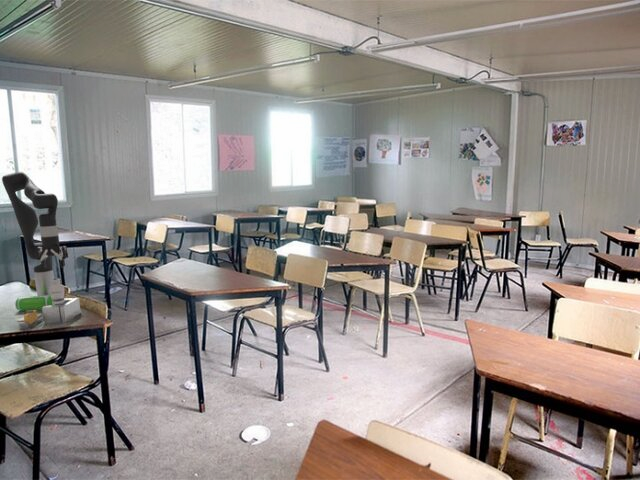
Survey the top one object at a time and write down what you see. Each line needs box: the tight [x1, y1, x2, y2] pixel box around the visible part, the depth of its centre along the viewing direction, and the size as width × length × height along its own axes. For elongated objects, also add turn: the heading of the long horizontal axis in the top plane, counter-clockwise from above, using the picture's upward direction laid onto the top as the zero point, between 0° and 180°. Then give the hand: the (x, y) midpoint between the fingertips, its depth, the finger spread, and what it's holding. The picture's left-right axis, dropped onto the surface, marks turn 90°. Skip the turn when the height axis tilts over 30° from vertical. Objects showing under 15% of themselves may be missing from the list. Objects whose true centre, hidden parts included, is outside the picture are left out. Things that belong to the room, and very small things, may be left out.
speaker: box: [15, 295, 53, 312], centre depth 253 cm, size 18×7×8 cm, turn 94°
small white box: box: [18, 297, 82, 330], centre depth 233 cm, size 23×18×8 cm
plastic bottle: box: [50, 277, 65, 305], centre depth 236 cm, size 6×7×20 cm
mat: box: [16, 312, 43, 323], centre depth 240 cm, size 10×8×1 cm
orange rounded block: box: [22, 310, 38, 325], centre depth 228 cm, size 8×3×7 cm, turn 1°
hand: (53, 267), depth 234 cm, fingers open, 8 cm apart
